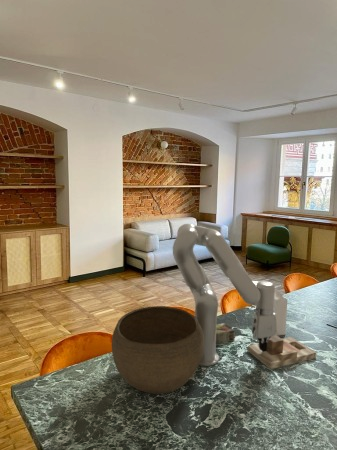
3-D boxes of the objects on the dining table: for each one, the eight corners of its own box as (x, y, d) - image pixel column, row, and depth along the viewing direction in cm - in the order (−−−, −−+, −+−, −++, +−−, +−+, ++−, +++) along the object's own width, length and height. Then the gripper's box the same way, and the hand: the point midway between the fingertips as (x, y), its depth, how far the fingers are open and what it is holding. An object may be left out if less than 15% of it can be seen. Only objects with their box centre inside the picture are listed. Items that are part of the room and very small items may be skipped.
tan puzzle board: (270, 369, 140) (270, 357, 139) (247, 350, 155) (248, 340, 154) (316, 357, 149) (316, 347, 149) (290, 341, 164) (291, 331, 163)
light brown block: (271, 355, 146) (272, 342, 145) (262, 348, 152) (263, 336, 151) (282, 352, 148) (283, 340, 147) (273, 346, 154) (274, 334, 153)
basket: (215, 370, 139) (219, 315, 133) (173, 429, 109) (175, 362, 104) (145, 343, 156) (145, 294, 151) (92, 388, 127) (91, 329, 121)
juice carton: (225, 331, 174) (226, 320, 173) (236, 340, 165) (237, 328, 164) (191, 339, 166) (191, 327, 165) (200, 348, 157) (201, 336, 156)
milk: (274, 336, 170) (276, 294, 166) (268, 330, 176) (270, 290, 172) (285, 334, 171) (288, 293, 168) (279, 329, 177) (281, 289, 174)
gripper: (255, 316, 139) (253, 357, 141) (284, 311, 144) (282, 351, 147) (244, 309, 146) (243, 349, 148) (273, 304, 151) (271, 343, 154)
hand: (262, 349), depth 147 cm, fingers closed
